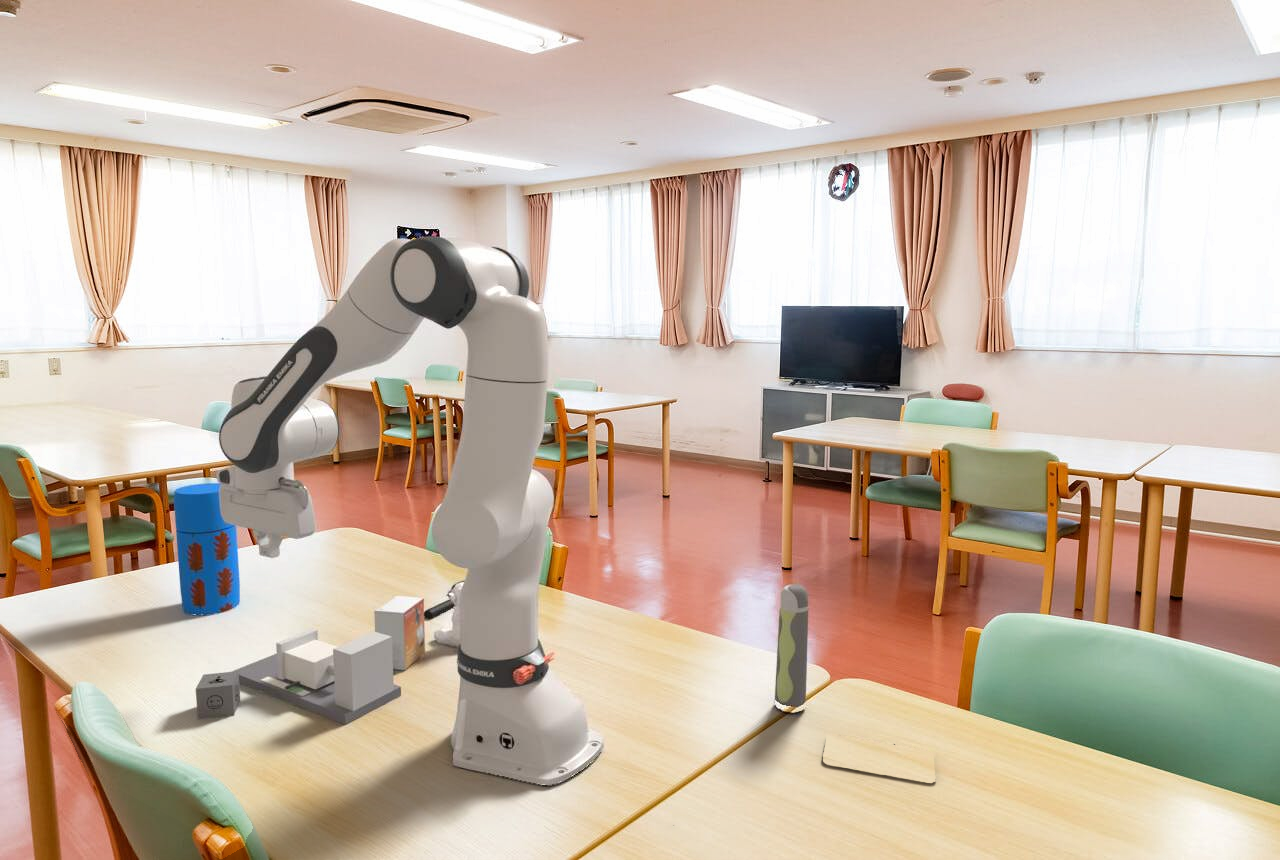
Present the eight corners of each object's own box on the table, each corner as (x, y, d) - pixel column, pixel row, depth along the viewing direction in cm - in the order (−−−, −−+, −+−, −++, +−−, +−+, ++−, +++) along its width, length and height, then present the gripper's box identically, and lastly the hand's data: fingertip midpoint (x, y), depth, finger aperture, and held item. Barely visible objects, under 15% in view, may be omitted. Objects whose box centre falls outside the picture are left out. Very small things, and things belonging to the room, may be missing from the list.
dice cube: (197, 719, 124) (195, 688, 123) (205, 704, 128) (203, 674, 128) (234, 715, 125) (232, 685, 124) (240, 700, 130) (238, 671, 129)
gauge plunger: (267, 682, 131) (265, 646, 131) (314, 662, 139) (312, 628, 138) (315, 700, 126) (313, 663, 125) (361, 678, 133) (360, 643, 132)
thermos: (251, 603, 171) (244, 487, 168) (201, 619, 162) (192, 496, 159) (221, 593, 177) (214, 480, 173) (171, 608, 168) (162, 489, 164)
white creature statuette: (479, 629, 159) (478, 570, 158) (497, 644, 152) (496, 583, 150) (432, 639, 154) (431, 578, 152) (448, 656, 147) (447, 592, 145)
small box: (405, 671, 141) (403, 613, 139) (375, 668, 142) (373, 610, 140) (426, 652, 148) (424, 597, 147) (397, 650, 149) (396, 594, 148)
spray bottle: (786, 697, 133) (791, 579, 130) (811, 707, 129) (817, 586, 127) (768, 707, 130) (772, 586, 127) (793, 718, 126) (798, 594, 123)
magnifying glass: (403, 615, 167) (403, 605, 167) (473, 582, 189) (473, 573, 188) (452, 625, 162) (452, 615, 162) (519, 591, 184) (519, 581, 183)
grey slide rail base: (231, 680, 136) (227, 620, 135) (289, 656, 146) (286, 600, 144) (345, 724, 122) (342, 658, 121) (401, 695, 132) (399, 633, 130)
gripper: (323, 478, 132) (327, 561, 134) (244, 465, 142) (249, 542, 144) (288, 485, 126) (293, 571, 128) (209, 471, 136) (215, 551, 138)
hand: (269, 556), depth 136 cm, fingers closed
